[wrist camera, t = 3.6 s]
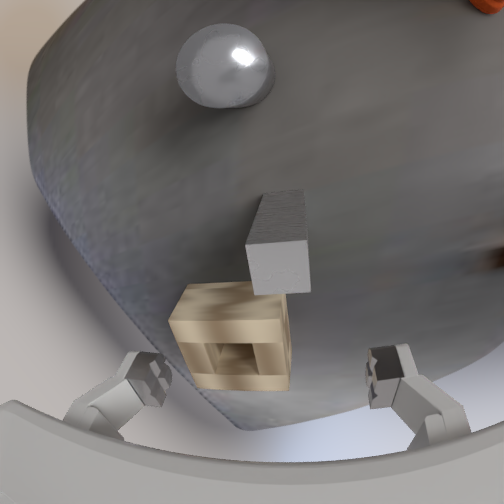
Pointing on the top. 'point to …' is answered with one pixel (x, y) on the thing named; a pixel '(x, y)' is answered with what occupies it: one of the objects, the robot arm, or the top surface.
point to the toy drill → (488, 5)
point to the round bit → (225, 67)
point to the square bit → (279, 245)
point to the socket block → (233, 337)
